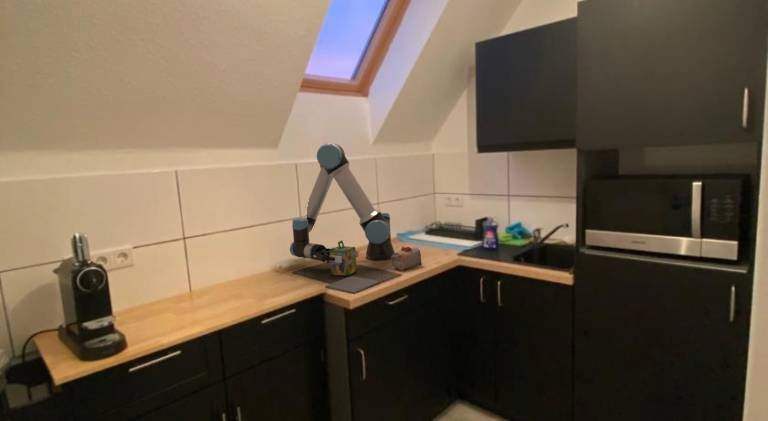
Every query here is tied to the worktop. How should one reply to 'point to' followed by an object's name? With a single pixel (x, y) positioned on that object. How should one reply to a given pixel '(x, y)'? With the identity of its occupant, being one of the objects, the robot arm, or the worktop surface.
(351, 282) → the rubber mat
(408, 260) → the food item
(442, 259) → the worktop surface
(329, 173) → the robot arm
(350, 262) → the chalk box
